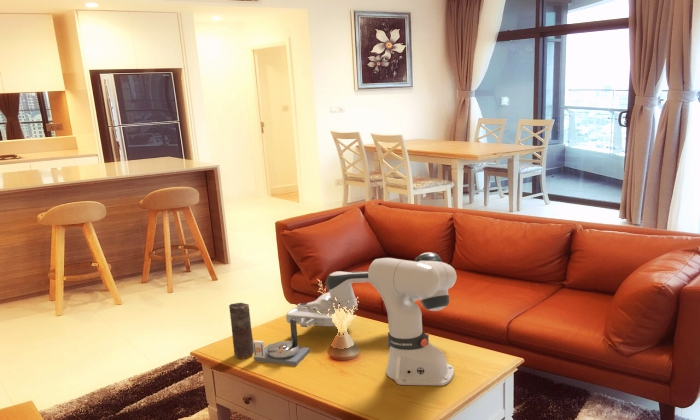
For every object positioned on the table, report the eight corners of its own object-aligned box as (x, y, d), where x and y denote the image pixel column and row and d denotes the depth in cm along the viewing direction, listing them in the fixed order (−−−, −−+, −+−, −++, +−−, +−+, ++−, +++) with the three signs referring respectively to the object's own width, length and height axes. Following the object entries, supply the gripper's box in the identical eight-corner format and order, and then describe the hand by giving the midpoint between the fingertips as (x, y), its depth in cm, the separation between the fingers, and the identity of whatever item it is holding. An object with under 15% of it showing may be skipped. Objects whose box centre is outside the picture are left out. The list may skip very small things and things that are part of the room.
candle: (232, 353, 216) (227, 303, 213) (251, 349, 219) (246, 299, 216) (237, 361, 210) (231, 309, 206) (256, 356, 213) (251, 305, 209)
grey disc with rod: (304, 347, 214) (301, 316, 212) (290, 360, 203) (288, 328, 201) (276, 344, 218) (273, 314, 216) (261, 357, 207) (259, 326, 205)
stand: (310, 351, 214) (308, 332, 212) (295, 366, 202) (293, 346, 201) (269, 347, 220) (268, 329, 218) (253, 362, 208) (251, 342, 206)
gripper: (342, 321, 227) (329, 335, 214) (295, 318, 234) (280, 331, 221) (341, 306, 226) (328, 319, 213) (294, 303, 233) (279, 315, 220)
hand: (303, 325), depth 217 cm, fingers closed
